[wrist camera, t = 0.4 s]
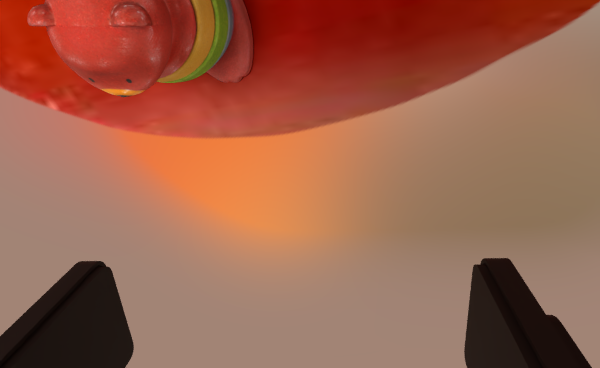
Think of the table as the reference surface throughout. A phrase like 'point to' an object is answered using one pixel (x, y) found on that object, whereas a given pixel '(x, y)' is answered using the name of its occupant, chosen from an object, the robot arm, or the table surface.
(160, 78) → the stacking bear
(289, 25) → the table surface
